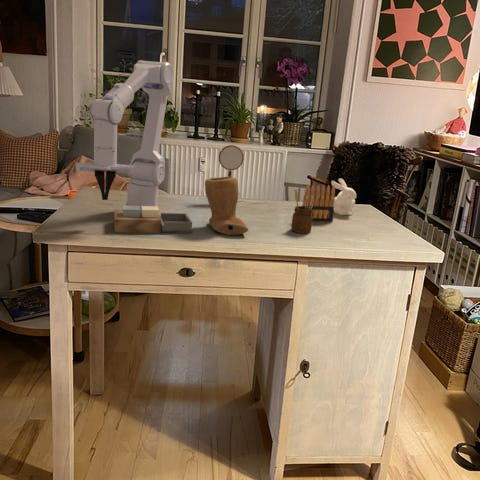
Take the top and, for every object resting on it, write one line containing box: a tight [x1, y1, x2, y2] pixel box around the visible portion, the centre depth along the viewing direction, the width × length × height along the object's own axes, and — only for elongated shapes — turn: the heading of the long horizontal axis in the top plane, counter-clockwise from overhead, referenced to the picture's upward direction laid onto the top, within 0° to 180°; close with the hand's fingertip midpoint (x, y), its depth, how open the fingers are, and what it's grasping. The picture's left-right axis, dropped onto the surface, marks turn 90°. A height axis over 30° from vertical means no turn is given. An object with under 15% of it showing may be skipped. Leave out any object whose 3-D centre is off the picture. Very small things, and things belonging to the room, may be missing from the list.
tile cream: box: [141, 205, 160, 218], centre depth 138 cm, size 4×4×2 cm
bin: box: [160, 212, 193, 234], centre depth 140 cm, size 8×10×3 cm
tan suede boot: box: [204, 176, 249, 236], centre depth 142 cm, size 15×12×15 cm
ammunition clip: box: [301, 183, 336, 223], centre depth 162 cm, size 11×2×12 cm, turn 103°
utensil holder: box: [290, 188, 315, 234], centre depth 148 cm, size 6×6×12 cm
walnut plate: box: [113, 209, 162, 234], centre depth 138 cm, size 12×10×4 cm
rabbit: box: [330, 178, 357, 216], centre depth 178 cm, size 12×9×12 cm
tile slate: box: [122, 205, 140, 217], centre depth 136 cm, size 4×4×2 cm
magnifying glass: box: [218, 144, 245, 177], centre depth 176 cm, size 9×2×20 cm, turn 96°
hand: (104, 199), depth 134 cm, fingers closed
